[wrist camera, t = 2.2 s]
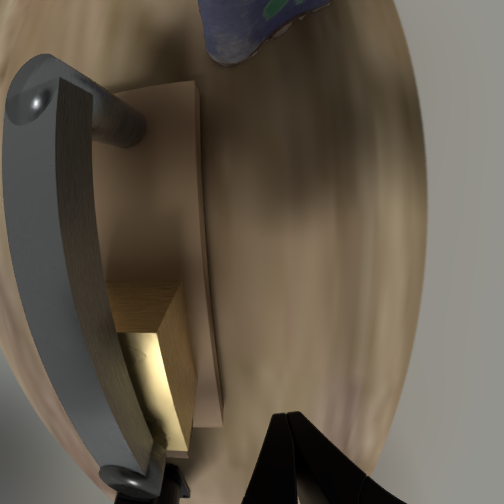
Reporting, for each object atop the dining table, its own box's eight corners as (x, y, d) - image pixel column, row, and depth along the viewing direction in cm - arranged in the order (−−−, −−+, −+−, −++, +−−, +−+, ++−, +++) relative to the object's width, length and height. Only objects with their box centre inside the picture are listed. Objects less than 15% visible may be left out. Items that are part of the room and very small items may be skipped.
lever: (185, 395, 14) (167, 502, 7) (145, 393, 14) (112, 492, 7) (153, 105, 11) (73, 37, 4) (104, 114, 11) (1, 71, 4)
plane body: (223, 406, 17) (222, 463, 13) (139, 404, 17) (121, 455, 12) (199, 92, 13) (183, 53, 8) (93, 110, 13) (43, 88, 8)
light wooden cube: (197, 381, 14) (188, 451, 10) (130, 379, 14) (103, 441, 9) (182, 279, 13) (156, 332, 8) (105, 281, 13) (53, 328, 8)
